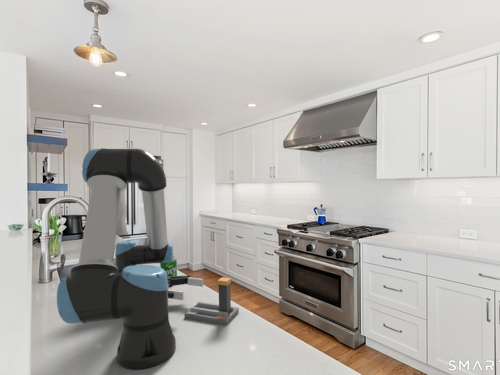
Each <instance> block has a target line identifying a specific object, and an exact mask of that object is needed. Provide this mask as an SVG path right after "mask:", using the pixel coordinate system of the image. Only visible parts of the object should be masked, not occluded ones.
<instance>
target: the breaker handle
mask: <svg viewBox="0 0 500 375" xmlns="http://www.w3.org/2000/svg"><path fill="white" fill-rule="evenodd" d="M231 283H232V278H231V277H220V278H219V279H218V280H217V285H218V304H219V311H223V312H228V313H229V312H230V311H231V306H232V305H231Z"/></svg>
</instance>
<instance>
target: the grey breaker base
mask: <svg viewBox="0 0 500 375" xmlns="http://www.w3.org/2000/svg"><path fill="white" fill-rule="evenodd" d="M239 309H240V308H239V307H236V306H232V305H231V311H230V312H229V313H228V312H223V311H219V303H212V302H205V301H198V302H197V303H196V304H195V305H194V306H191V307H190V308H189V309H188V310H187V311H186V312H184V319H190V320H195V321H201V322H202V321H203V322H206V323H207V322H208V323H214V324H220V325H226V326H227V325H228V324H229V323H230V322H231V321H232V320H233V319H234V317H236V316H237V314H239V312H240V310H239Z"/></svg>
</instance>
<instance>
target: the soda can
mask: <svg viewBox="0 0 500 375" xmlns="http://www.w3.org/2000/svg"><path fill="white" fill-rule="evenodd" d="M177 260H178V259H177V257H176V256H175V255H173V260H172V261H171V262H166V263H159V264H160V265H159V267H160V268H162V269H164V270H165V271H166V273H167V276H178V267H177V266H178V264H177ZM169 285H170V283H169Z"/></svg>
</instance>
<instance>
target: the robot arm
mask: <svg viewBox="0 0 500 375" xmlns="http://www.w3.org/2000/svg"><path fill="white" fill-rule="evenodd" d="M81 167H82V171H81V174H82V175H81V176H82V178H83V181H84V182H85V183H86V184H87V187H88V188H89V189H90V190H91V191H90V195H89V196H90V197H89V201H88V206H87V207H88V208H87V212H86V217H85V218H86V219H85V225H84V231H83V235H82V241H81V248H80V253H79V259H78V262H77V263H76V264H74V265H72V266H71V269H70V273H69V276H64V277H62V279H61V280H60V281H59V283H58V285H57V290H56V307H57V310H58V314H59V317H60V318H61V321H63V322H65V323H66V324H84V325H85V324H86V323H91V322H102V321H111V320H119V319H120V320H121V319H123V330H122V333H121V336H120V341H119V345H118V346H117V350H116V360H117V364H119V365H120V366H121V367H123V368H125V369H130V370H143V369H148V368H149V369H150V368H152V367H156V366H158V365H160V364H163V363H164V362H166V361H167V360H169V359H170V358H171V357H172V356H173V355H174V354H175V352H176V348H177V345H176V344H177V343H176V342H177V340H176V337H175V334H174V333H173V329H172V326H171V324H170V323H171V322H170V319H169V318H170V317H169V299H170V300H171V299H172V300H178V301H184V291H182V290H176V289H175V290H174V289H169V288H172V287H175V286H182V285H188V286H192V287H193V286H194V287H202V288H203V287H204V278H197V277H191V274H186V275H177V276H167V273H166V271H165V270H164V269H162V268H160V266H157V265H153V264H160V263H166V262H171V261H172V260H173V256H174V246H173V244H172V243H168V230H167V220H166V219H167V216H166V202H165V191H164V190H165V189H166V187H167V176H166V174H165V171H164V169H163V167H162V165H161V163H160V162H159V161H158V159H157V158H156V157H155V156H154V155H152V154H151V153H150V152H148V151H147V150H144V149H141V148H104V147H103V148H102V147H101V148H94V149H90V150H89V151H88V152H87V153H86V154H85V156H84V158H83V161H82V165H81ZM135 183H137V185H138V187H137V188H138V190H139V191H141V196H142V203H143V213H144V222H145V231H146V237H147V238H146V239H147V244H142V245H139V244H138V245H137V243H136V241H135V240H122V241H119V242H117V243H116V239H117V238H116V237H117V231H118V223H119V221H118V220H119V215H120V214H119V212H120V204H121V196H122V193H124V191H126V189H127V186H128V184H135ZM114 257H115V263H114ZM169 283H170V284H169Z"/></svg>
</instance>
